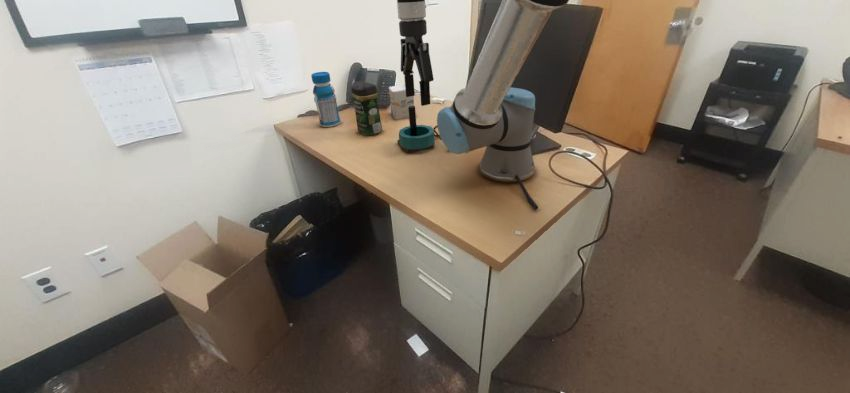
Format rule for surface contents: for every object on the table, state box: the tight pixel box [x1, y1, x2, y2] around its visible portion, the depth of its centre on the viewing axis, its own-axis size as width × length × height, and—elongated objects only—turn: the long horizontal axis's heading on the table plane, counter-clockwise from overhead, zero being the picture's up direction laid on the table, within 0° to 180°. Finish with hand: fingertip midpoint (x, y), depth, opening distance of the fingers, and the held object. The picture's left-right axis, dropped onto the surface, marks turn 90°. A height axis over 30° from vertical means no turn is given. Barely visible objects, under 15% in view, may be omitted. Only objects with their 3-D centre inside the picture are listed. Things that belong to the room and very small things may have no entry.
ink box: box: [388, 84, 415, 121], centre depth 143 cm, size 9×8×12 cm
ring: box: [398, 124, 436, 150], centre depth 116 cm, size 12×12×4 cm
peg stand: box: [396, 105, 433, 154], centre depth 116 cm, size 9×9×14 cm
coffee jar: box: [350, 80, 383, 137], centre depth 127 cm, size 10×8×19 cm
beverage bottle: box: [311, 71, 341, 128], centre depth 137 cm, size 8×8×20 cm
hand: (417, 100), depth 106 cm, fingers open, 10 cm apart
